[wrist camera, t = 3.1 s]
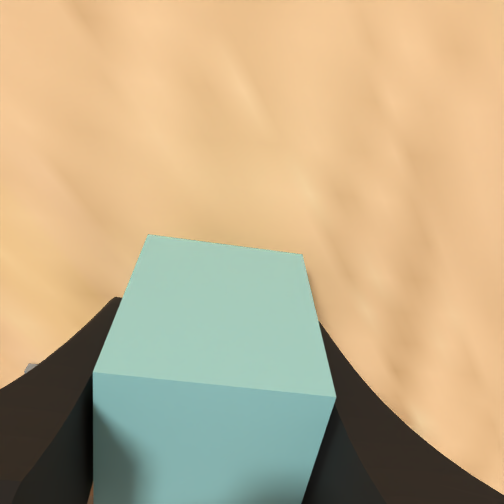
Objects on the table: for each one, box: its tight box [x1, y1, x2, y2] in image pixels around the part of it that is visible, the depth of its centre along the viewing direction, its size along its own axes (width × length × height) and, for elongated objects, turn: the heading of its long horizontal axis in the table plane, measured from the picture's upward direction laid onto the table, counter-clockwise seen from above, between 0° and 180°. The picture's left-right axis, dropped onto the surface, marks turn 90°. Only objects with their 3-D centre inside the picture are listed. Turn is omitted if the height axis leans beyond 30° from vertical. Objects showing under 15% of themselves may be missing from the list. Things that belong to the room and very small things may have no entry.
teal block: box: [93, 234, 336, 504], centre depth 12 cm, size 4×4×6 cm
